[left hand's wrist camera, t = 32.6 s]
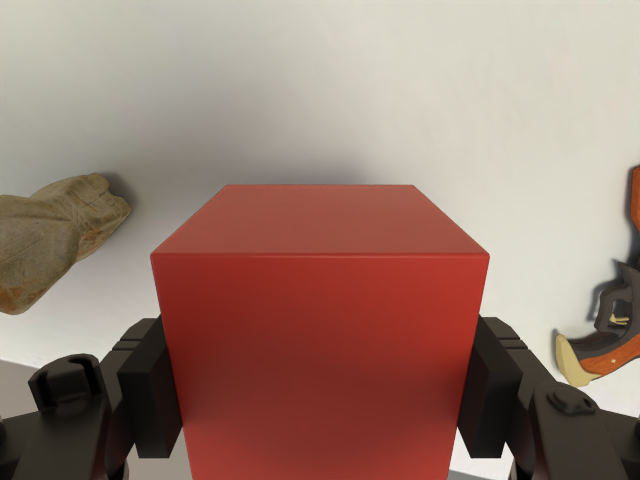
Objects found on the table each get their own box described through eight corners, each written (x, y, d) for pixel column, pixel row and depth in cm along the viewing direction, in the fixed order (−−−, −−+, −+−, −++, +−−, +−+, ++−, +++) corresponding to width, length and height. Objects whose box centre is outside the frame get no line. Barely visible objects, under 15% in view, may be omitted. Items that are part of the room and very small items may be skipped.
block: (398, 343, 17) (445, 491, 11) (241, 343, 17) (193, 491, 11) (413, 184, 14) (492, 254, 8) (225, 184, 14) (147, 254, 8)
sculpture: (28, 202, 26) (-309, 324, 12) (100, 150, 25) (-184, 218, 11) (86, 264, 28) (-147, 431, 14) (156, 218, 26) (-23, 353, 12)
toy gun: (568, 397, 30) (707, 384, 28) (557, 179, 24) (729, 143, 22) (552, 375, 33) (679, 361, 31) (539, 173, 27) (692, 140, 25)
